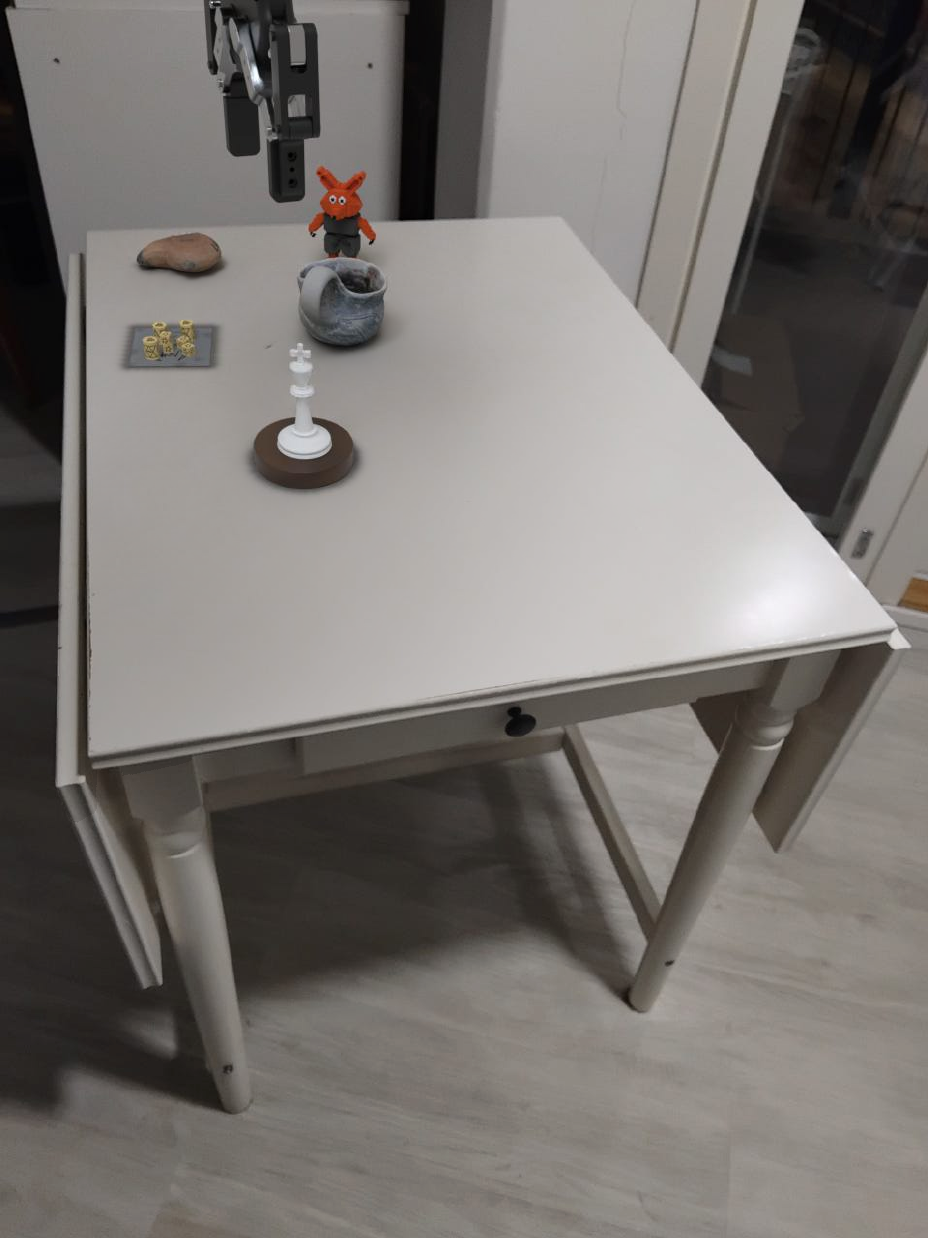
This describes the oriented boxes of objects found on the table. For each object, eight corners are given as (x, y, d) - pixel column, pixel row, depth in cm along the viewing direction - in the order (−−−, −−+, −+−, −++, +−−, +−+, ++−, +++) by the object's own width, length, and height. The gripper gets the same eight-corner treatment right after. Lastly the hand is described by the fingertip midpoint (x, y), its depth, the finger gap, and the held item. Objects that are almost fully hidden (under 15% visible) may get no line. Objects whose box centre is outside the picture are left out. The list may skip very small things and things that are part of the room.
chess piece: (328, 461, 85) (326, 361, 78) (273, 457, 85) (265, 356, 78) (334, 430, 88) (332, 332, 81) (281, 427, 88) (275, 327, 81)
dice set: (144, 360, 98) (141, 343, 97) (148, 335, 101) (146, 319, 100) (195, 360, 99) (193, 343, 97) (197, 335, 102) (195, 319, 101)
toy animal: (302, 282, 113) (297, 178, 105) (313, 263, 117) (309, 161, 109) (368, 291, 113) (368, 187, 104) (376, 271, 117) (378, 170, 108)
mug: (394, 323, 108) (397, 236, 101) (369, 379, 99) (370, 287, 92) (312, 310, 108) (309, 223, 101) (279, 365, 99) (273, 273, 92)
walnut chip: (273, 497, 83) (272, 481, 82) (242, 443, 89) (240, 426, 88) (368, 476, 87) (368, 460, 86) (332, 424, 92) (331, 408, 91)
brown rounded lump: (178, 252, 118) (133, 276, 113) (170, 219, 115) (123, 242, 110) (234, 263, 114) (190, 287, 109) (227, 229, 112) (182, 253, 107)
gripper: (363, -101, 50) (358, 211, 61) (269, -145, 58) (280, 136, 70) (224, -106, 47) (245, 223, 58) (146, -151, 55) (178, 143, 67)
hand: (264, 176), depth 64 cm, fingers open, 8 cm apart
